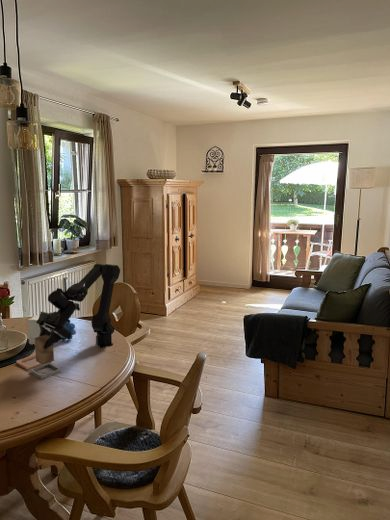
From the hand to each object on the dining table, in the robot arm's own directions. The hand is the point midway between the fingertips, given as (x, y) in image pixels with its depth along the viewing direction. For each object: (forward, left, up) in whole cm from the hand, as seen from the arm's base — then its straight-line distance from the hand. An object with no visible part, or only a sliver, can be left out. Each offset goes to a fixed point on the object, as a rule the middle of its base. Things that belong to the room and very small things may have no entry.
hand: (40, 346), depth 156 cm
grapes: (-17, -29, -12) cm, 36 cm away
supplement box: (-7, -34, -12) cm, 37 cm away
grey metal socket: (-1, 0, -11) cm, 12 cm away
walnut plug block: (-1, 0, -7) cm, 7 cm away
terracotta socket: (+1, -12, -11) cm, 16 cm away
